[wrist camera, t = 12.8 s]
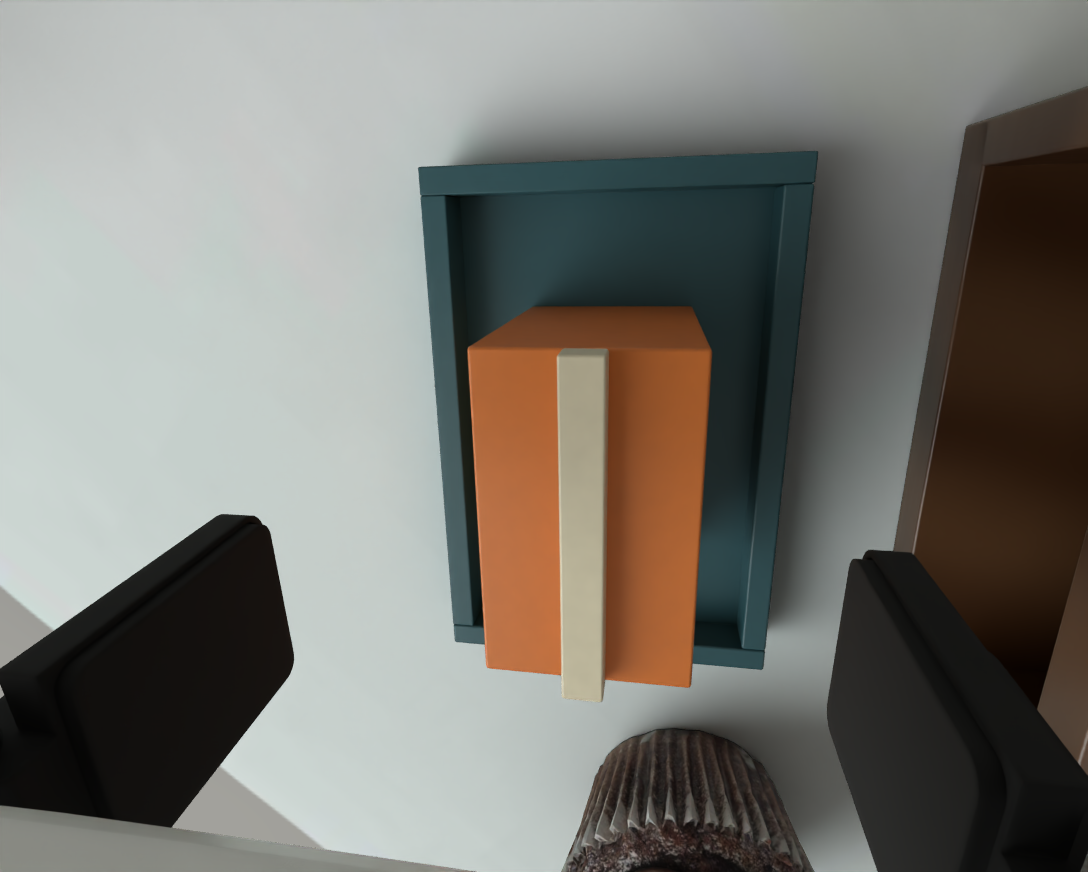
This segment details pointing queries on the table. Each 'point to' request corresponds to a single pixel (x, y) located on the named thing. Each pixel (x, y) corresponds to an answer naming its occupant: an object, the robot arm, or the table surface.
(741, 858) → the cupcake
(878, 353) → the table surface
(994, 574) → the shelf
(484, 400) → the packet
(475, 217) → the tray
